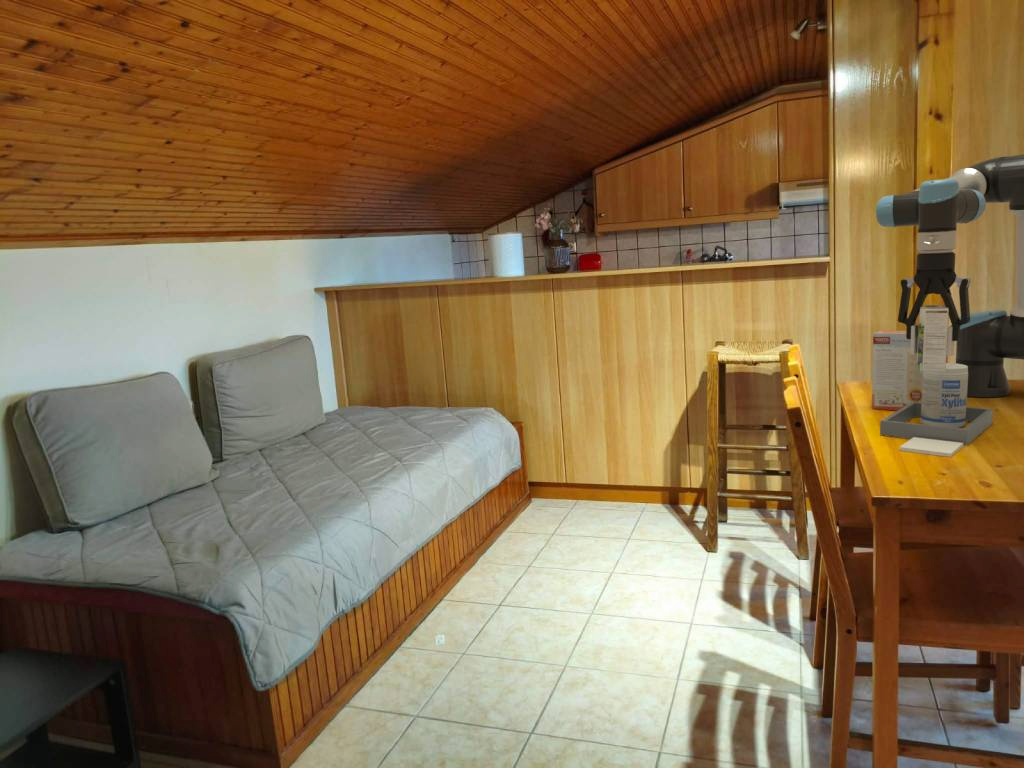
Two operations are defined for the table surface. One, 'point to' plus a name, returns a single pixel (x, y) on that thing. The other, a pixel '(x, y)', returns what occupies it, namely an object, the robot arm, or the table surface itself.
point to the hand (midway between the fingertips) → (931, 354)
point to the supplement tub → (945, 396)
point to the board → (931, 447)
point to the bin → (899, 428)
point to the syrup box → (932, 338)
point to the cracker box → (894, 372)
